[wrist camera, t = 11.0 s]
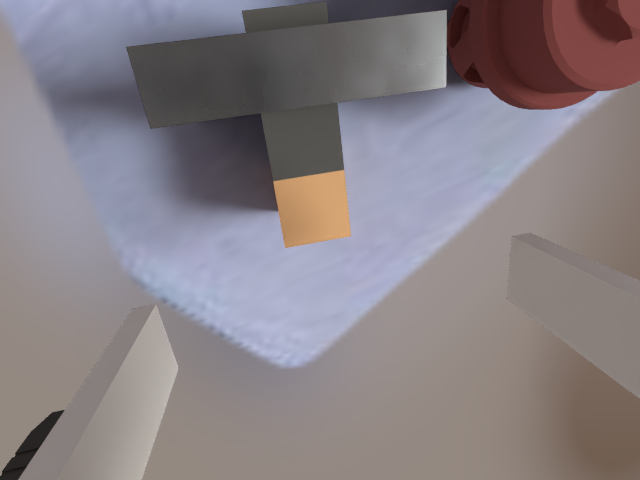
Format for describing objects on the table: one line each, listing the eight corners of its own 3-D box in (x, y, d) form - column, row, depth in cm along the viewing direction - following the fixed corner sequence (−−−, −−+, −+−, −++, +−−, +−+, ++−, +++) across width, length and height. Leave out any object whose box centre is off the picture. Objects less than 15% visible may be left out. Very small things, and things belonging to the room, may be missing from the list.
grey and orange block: (248, 42, 23) (241, 10, 16) (306, 35, 24) (326, 1, 16) (278, 211, 28) (285, 247, 20) (327, 202, 28) (351, 236, 21)
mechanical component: (523, 112, 28) (407, 106, 26) (558, -36, 24) (427, -54, 23) (703, 114, 17) (519, 103, 15) (816, -164, 13) (592, -218, 11)
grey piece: (185, 74, 23) (126, 46, 13) (370, 51, 25) (446, 9, 14) (196, 121, 24) (150, 128, 14) (373, 96, 26) (446, 87, 15)
